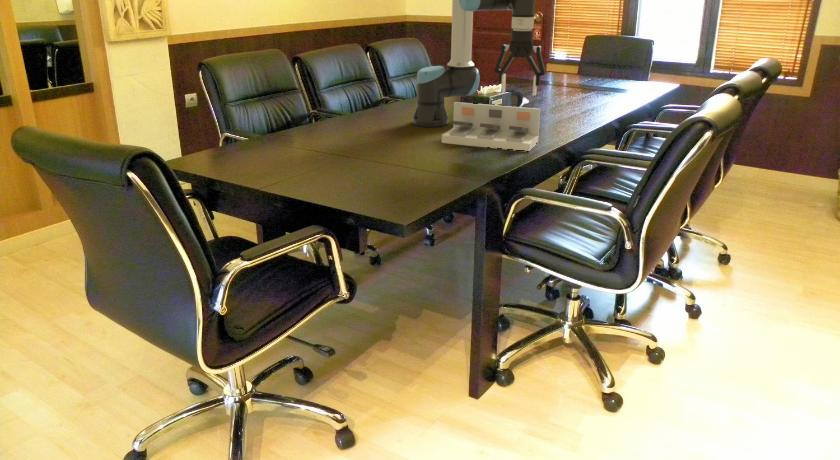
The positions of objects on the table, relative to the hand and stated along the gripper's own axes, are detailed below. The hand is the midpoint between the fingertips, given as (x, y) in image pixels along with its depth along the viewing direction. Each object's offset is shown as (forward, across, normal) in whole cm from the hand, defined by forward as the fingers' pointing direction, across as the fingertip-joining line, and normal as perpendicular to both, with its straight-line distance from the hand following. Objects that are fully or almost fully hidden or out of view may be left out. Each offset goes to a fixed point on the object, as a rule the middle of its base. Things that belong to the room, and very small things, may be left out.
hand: (518, 93), depth 230 cm
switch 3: (+13, 0, +3) cm, 14 cm away
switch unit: (+20, -11, +4) cm, 23 cm away
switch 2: (+13, -11, +3) cm, 18 cm away
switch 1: (+13, -22, +4) cm, 26 cm away
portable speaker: (+20, -24, +61) cm, 69 cm away
